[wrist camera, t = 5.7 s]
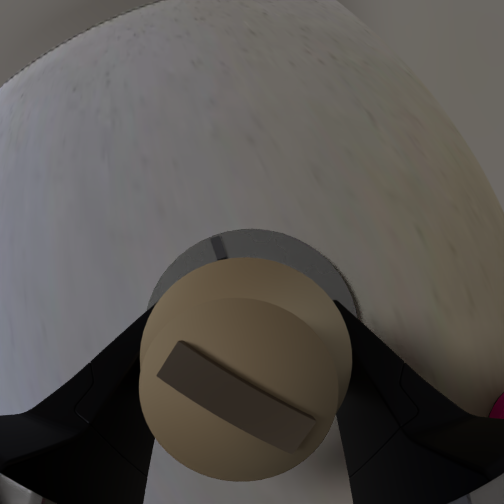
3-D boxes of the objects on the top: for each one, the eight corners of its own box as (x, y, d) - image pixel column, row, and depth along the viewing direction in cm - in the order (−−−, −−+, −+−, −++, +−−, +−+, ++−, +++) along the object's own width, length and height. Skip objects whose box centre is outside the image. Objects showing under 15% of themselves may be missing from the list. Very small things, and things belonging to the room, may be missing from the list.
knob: (311, 326, 15) (477, 315, 3) (264, 400, 14) (292, 575, 2) (235, 281, 16) (181, 137, 4) (189, 354, 15) (18, 412, 3)
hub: (380, 387, 18) (391, 392, 17) (191, 456, 17) (186, 467, 15) (309, 206, 22) (314, 195, 20) (124, 272, 21) (113, 267, 19)
